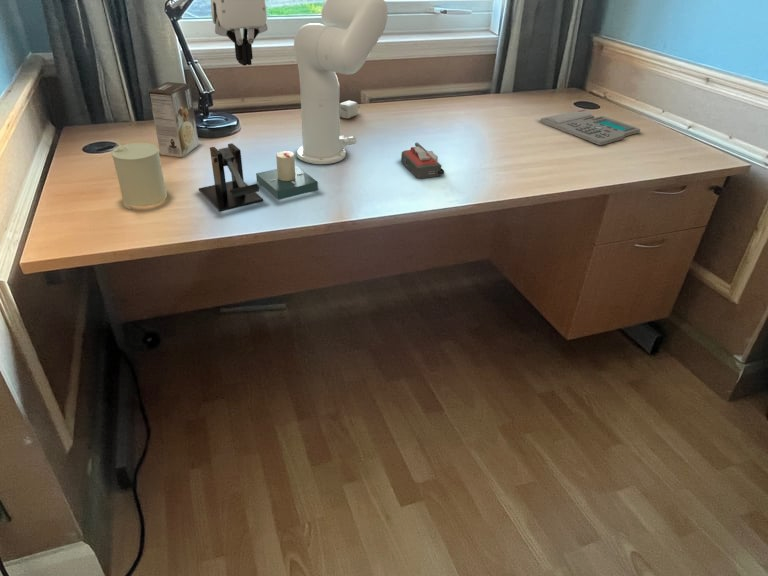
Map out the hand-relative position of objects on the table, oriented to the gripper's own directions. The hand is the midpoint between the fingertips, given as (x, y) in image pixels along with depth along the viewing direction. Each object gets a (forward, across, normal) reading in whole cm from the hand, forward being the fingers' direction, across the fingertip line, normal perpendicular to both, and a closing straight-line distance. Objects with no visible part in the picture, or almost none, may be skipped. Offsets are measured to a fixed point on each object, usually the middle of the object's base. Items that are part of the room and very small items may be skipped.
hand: (244, 63), depth 120 cm
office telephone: (+27, -104, +13) cm, 108 cm away
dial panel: (+27, -5, +6) cm, 28 cm away
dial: (+24, -5, +6) cm, 25 cm away
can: (+27, +24, -4) cm, 37 cm away
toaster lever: (+20, +8, +8) cm, 23 cm away
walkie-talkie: (+27, -41, +9) cm, 50 cm away
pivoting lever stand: (+27, +8, +4) cm, 29 cm away
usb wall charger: (+27, -46, -32) cm, 62 cm away
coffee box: (+27, +8, -29) cm, 41 cm away
